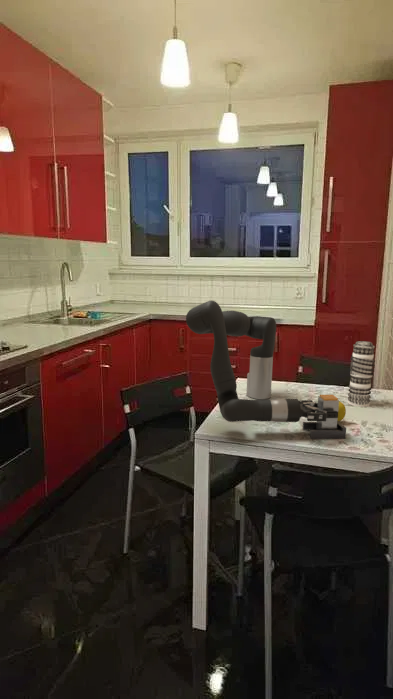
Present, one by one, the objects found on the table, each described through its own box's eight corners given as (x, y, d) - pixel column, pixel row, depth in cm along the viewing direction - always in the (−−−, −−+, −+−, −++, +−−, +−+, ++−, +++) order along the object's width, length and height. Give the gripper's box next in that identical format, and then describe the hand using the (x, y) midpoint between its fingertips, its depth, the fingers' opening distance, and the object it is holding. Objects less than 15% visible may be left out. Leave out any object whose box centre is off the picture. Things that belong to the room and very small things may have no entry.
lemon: (342, 426, 156) (344, 403, 154) (326, 423, 159) (328, 401, 157) (346, 421, 160) (348, 400, 159) (330, 418, 163) (332, 397, 162)
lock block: (320, 436, 146) (323, 398, 144) (315, 431, 151) (318, 394, 149) (336, 436, 146) (339, 398, 144) (330, 430, 151) (333, 394, 149)
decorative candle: (341, 402, 183) (347, 341, 179) (355, 398, 189) (360, 339, 184) (361, 408, 176) (367, 344, 172) (375, 404, 182) (381, 342, 177)
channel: (311, 438, 144) (311, 428, 143) (302, 428, 152) (303, 418, 152) (345, 438, 145) (346, 428, 144) (334, 428, 153) (335, 418, 153)
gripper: (290, 405, 138) (342, 405, 140) (278, 392, 152) (325, 392, 154) (289, 429, 140) (340, 429, 141) (277, 414, 154) (323, 414, 155)
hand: (332, 410), depth 147 cm, fingers open, 8 cm apart
